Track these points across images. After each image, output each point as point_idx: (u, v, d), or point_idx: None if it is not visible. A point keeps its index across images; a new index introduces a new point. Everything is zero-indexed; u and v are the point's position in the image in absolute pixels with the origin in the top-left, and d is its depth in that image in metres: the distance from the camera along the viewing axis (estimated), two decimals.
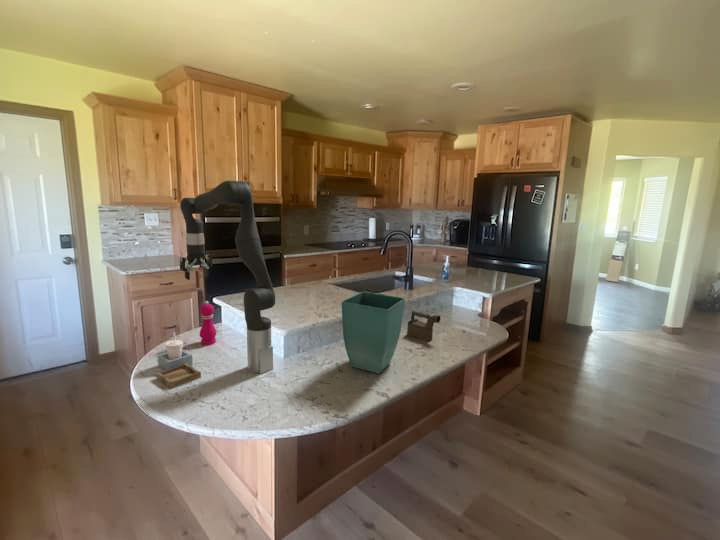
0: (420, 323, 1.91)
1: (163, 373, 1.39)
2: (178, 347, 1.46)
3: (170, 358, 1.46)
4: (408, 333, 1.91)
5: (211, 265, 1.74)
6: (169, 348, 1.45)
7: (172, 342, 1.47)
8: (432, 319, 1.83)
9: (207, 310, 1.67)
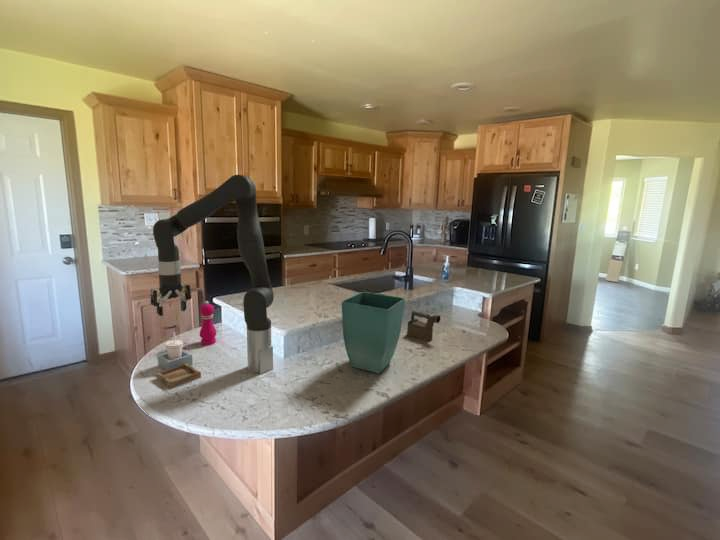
0: (420, 323, 1.91)
1: (163, 373, 1.39)
2: (178, 347, 1.46)
3: (170, 358, 1.46)
4: (408, 333, 1.91)
5: (189, 297, 1.48)
6: (169, 348, 1.45)
7: (172, 342, 1.47)
8: (432, 319, 1.83)
9: (207, 310, 1.67)
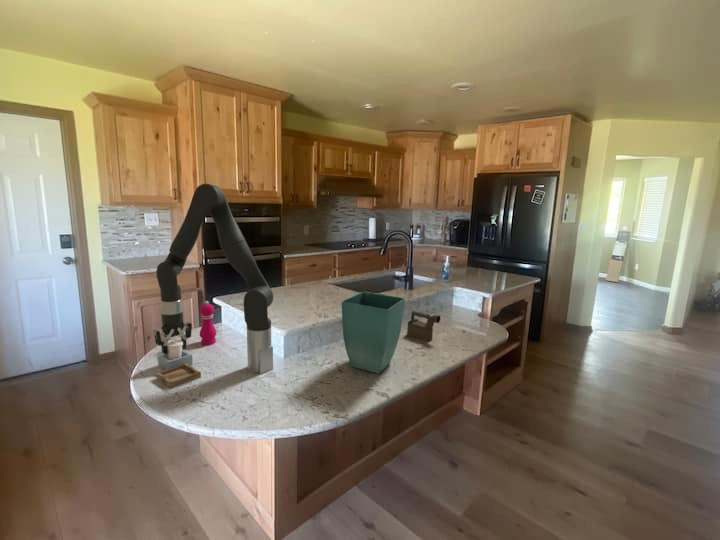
0: (420, 323, 1.91)
1: (163, 373, 1.39)
2: (178, 347, 1.46)
3: (170, 358, 1.46)
4: (408, 333, 1.91)
5: (189, 335, 1.50)
6: (169, 348, 1.44)
7: (172, 342, 1.47)
8: (432, 319, 1.83)
9: (207, 310, 1.67)
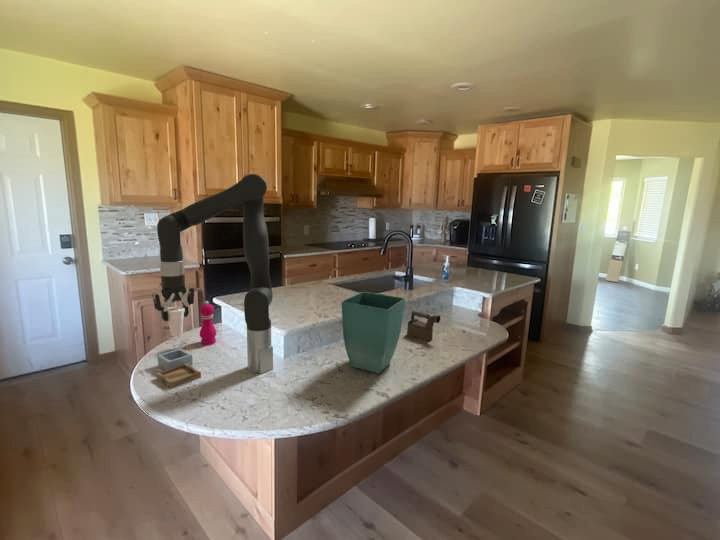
0: (420, 323, 1.91)
1: (163, 373, 1.39)
2: (179, 313, 1.33)
3: (171, 326, 1.33)
4: (408, 333, 1.91)
5: (192, 301, 1.37)
6: (169, 314, 1.31)
7: (173, 308, 1.34)
8: (432, 319, 1.83)
9: (207, 310, 1.67)
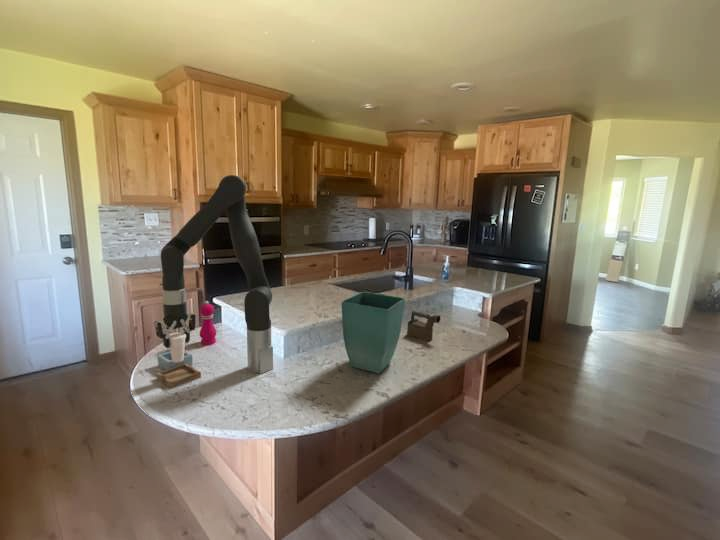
0: (420, 323, 1.91)
1: (163, 373, 1.39)
2: (181, 340, 1.35)
3: (172, 352, 1.35)
4: (408, 333, 1.91)
5: (193, 328, 1.39)
6: (171, 341, 1.33)
7: (174, 335, 1.36)
8: (432, 319, 1.83)
9: (207, 310, 1.67)
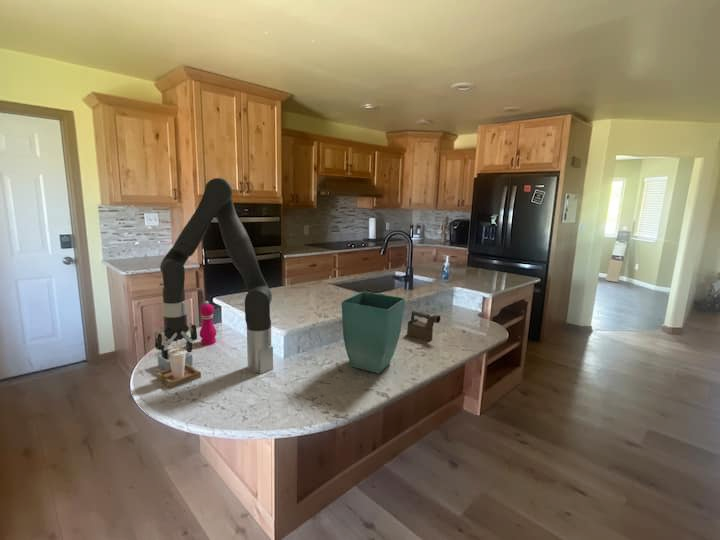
0: (420, 323, 1.91)
1: (163, 373, 1.39)
2: (181, 356, 1.36)
3: (172, 368, 1.36)
4: (408, 333, 1.91)
5: (195, 337, 1.41)
6: (171, 357, 1.34)
7: (175, 351, 1.37)
8: (432, 319, 1.83)
9: (207, 310, 1.67)
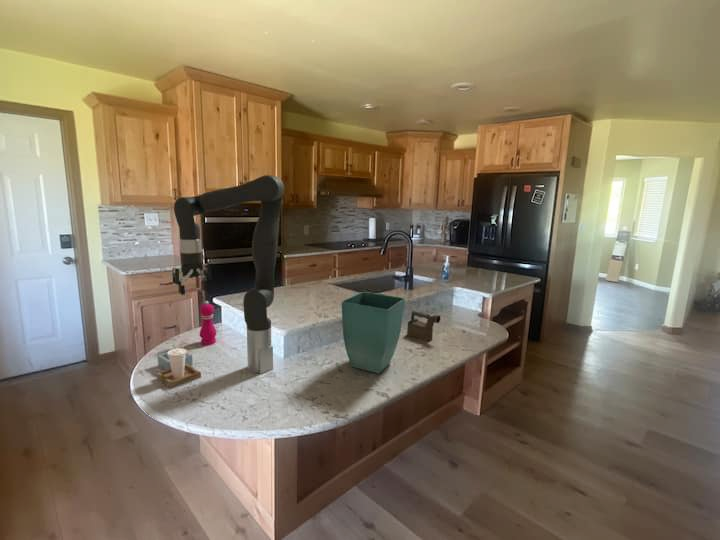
0: (420, 323, 1.91)
1: (163, 373, 1.39)
2: (181, 356, 1.36)
3: (172, 368, 1.36)
4: (408, 333, 1.91)
5: (210, 276, 1.48)
6: (171, 357, 1.34)
7: (175, 351, 1.37)
8: (432, 319, 1.83)
9: (207, 310, 1.67)
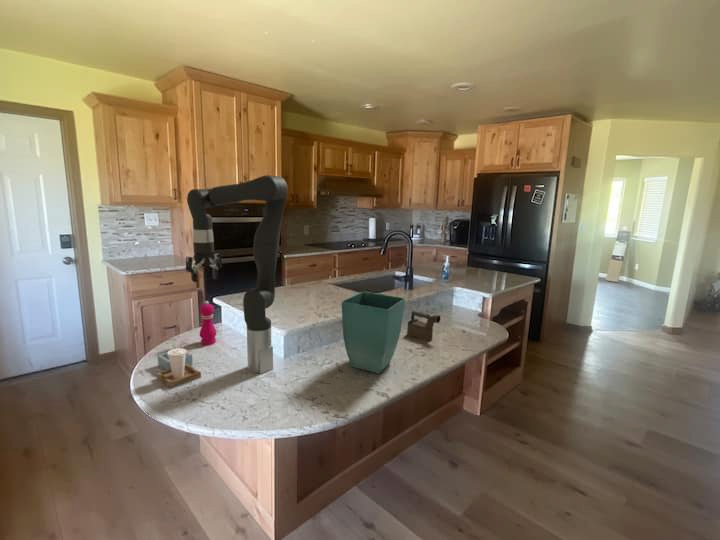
0: (420, 323, 1.91)
1: (163, 373, 1.39)
2: (181, 356, 1.36)
3: (172, 368, 1.36)
4: (408, 333, 1.91)
5: (221, 266, 1.55)
6: (171, 357, 1.34)
7: (175, 351, 1.37)
8: (432, 319, 1.83)
9: (207, 310, 1.67)
